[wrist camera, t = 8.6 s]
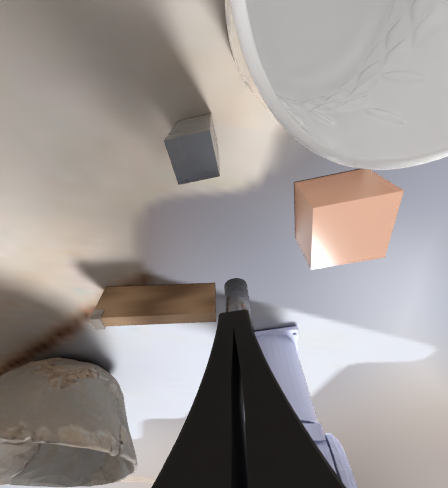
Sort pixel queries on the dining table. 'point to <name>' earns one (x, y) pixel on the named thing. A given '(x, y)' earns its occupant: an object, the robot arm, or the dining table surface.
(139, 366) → the dining table surface
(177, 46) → the dining table surface
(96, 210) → the dining table surface
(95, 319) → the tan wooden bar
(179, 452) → the robot arm
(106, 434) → the ceramic bowl
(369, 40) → the white cup
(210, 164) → the grey blocks
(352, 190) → the block
